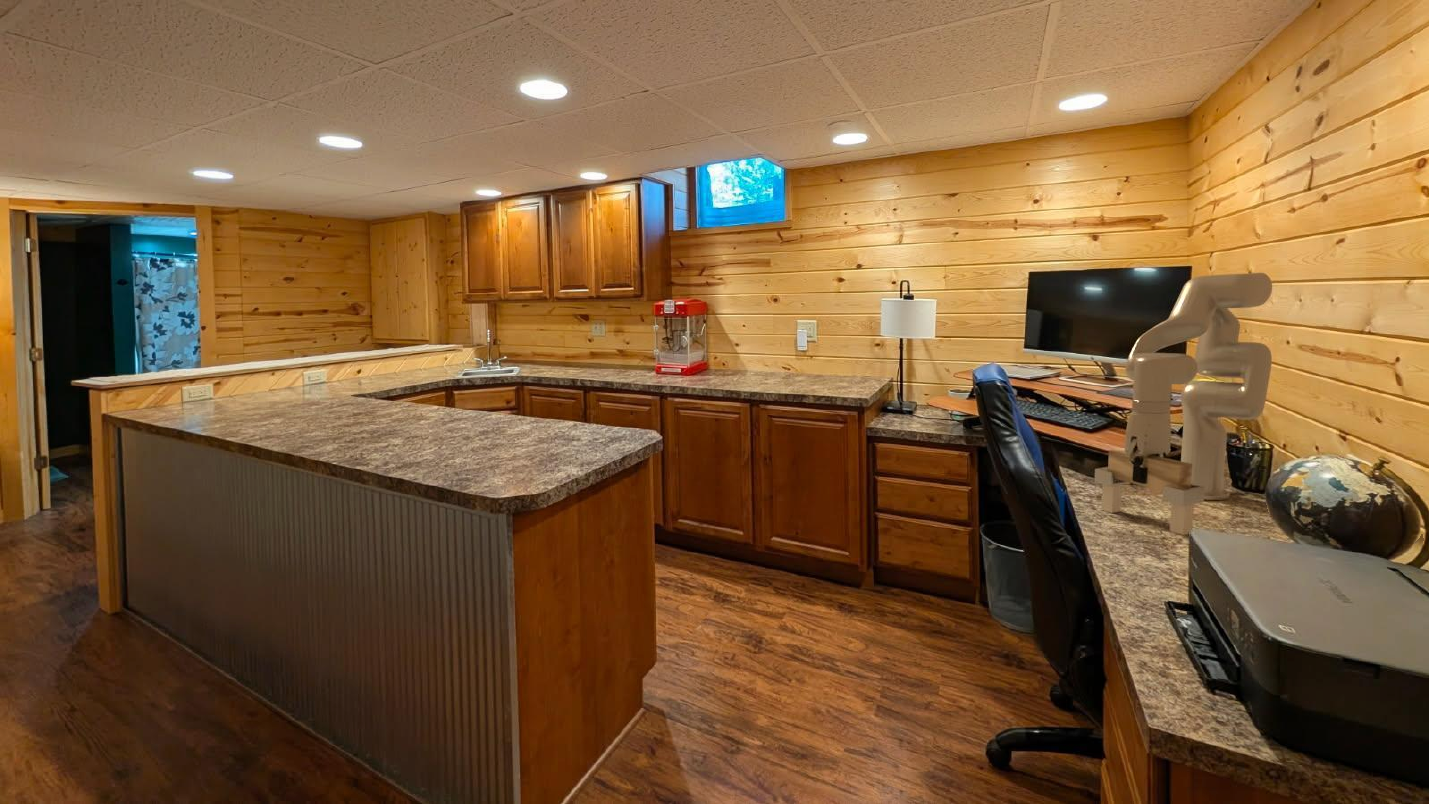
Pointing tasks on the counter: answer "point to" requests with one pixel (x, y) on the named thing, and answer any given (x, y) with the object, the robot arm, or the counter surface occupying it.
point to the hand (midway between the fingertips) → (1146, 480)
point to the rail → (1152, 471)
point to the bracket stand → (1178, 497)
